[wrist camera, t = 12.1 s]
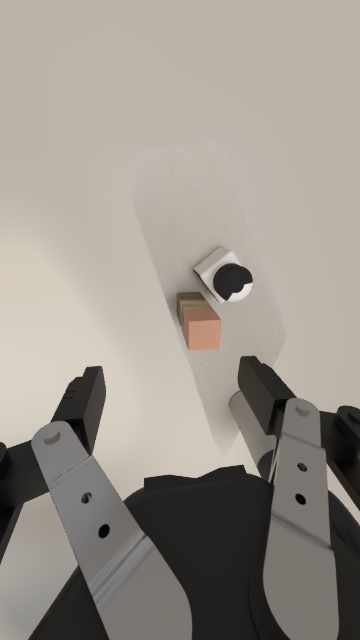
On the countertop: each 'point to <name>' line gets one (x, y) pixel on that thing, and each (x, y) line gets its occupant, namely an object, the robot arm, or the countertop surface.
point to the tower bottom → (187, 297)
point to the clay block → (201, 329)
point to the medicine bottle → (224, 276)
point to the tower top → (191, 305)
